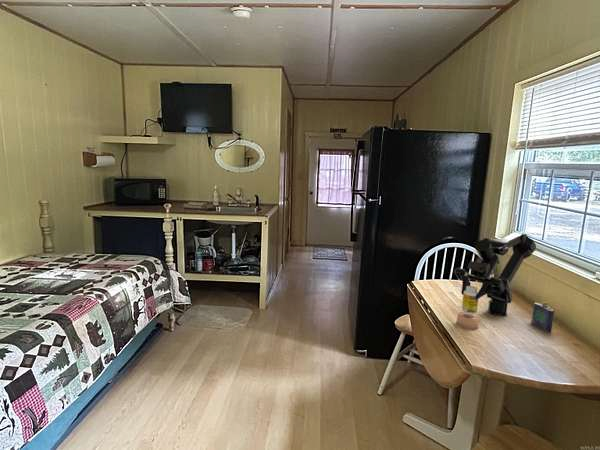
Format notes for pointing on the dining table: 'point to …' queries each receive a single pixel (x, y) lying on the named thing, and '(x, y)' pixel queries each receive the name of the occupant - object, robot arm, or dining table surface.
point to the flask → (542, 316)
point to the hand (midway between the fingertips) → (469, 296)
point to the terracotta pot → (467, 320)
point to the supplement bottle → (470, 300)
